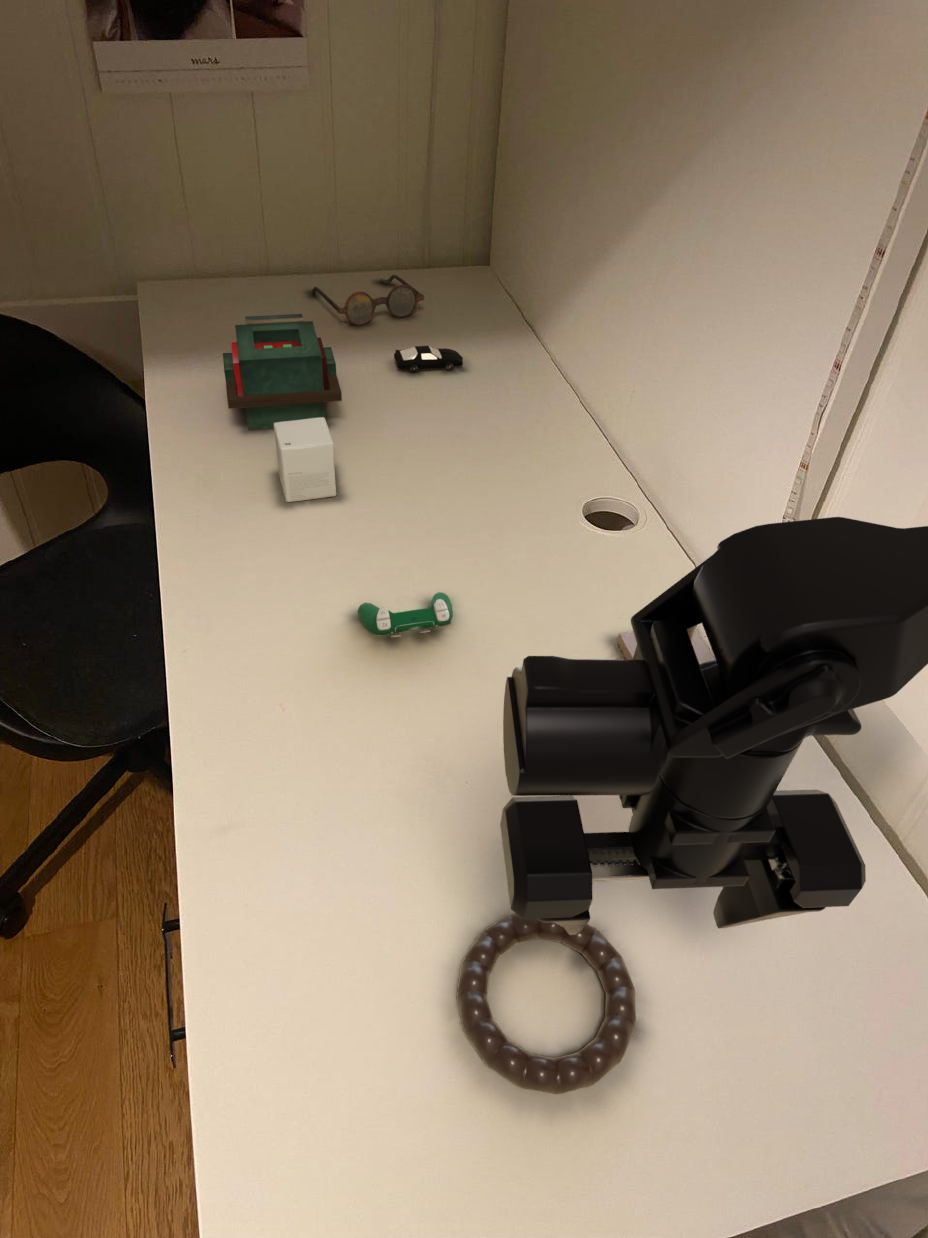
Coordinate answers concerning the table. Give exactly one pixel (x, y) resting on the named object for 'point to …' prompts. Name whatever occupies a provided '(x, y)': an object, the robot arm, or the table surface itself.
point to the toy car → (427, 358)
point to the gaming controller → (406, 617)
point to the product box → (305, 459)
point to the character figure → (279, 371)
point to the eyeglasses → (377, 302)
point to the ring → (513, 1059)
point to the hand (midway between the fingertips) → (645, 923)
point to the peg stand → (700, 647)
